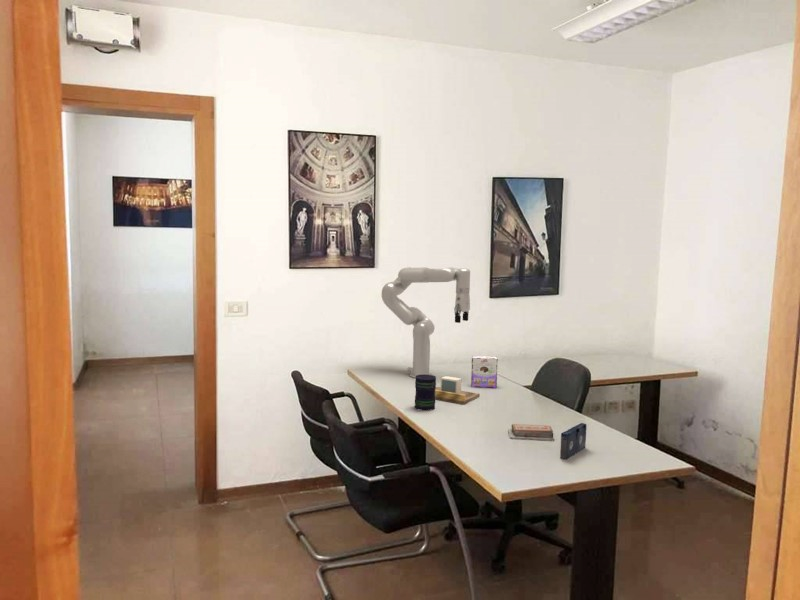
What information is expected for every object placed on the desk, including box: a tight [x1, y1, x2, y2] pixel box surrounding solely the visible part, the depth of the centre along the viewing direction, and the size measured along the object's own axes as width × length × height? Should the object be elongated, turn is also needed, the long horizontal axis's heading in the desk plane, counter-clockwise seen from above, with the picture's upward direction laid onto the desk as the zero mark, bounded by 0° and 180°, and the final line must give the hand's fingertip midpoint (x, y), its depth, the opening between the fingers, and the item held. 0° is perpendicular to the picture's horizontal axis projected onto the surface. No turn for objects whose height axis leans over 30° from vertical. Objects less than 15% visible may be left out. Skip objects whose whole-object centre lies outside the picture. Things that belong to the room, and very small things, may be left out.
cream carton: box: [440, 375, 462, 394], centre depth 328 cm, size 5×9×8 cm, turn 59°
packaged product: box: [507, 423, 555, 441], centre depth 270 cm, size 18×5×10 cm
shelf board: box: [435, 386, 481, 405], centre depth 329 cm, size 24×18×4 cm
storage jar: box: [414, 374, 437, 412], centre depth 307 cm, size 10×10×15 cm
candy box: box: [470, 355, 498, 389], centre depth 351 cm, size 14×6×16 cm, turn 84°
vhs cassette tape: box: [559, 422, 588, 461], centre depth 250 cm, size 18×3×10 cm, turn 140°
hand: (461, 321), depth 361 cm, fingers open, 9 cm apart
